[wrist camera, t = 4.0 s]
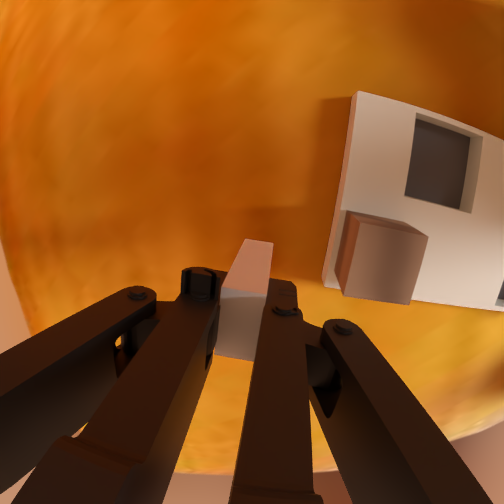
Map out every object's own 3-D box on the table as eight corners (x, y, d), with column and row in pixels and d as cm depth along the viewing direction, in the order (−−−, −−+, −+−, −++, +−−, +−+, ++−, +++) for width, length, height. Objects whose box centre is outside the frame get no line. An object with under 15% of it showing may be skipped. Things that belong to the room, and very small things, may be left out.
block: (333, 270, 25) (343, 295, 20) (346, 210, 24) (360, 222, 19) (389, 279, 25) (408, 305, 20) (404, 221, 23) (428, 236, 19)
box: (321, 275, 28) (326, 296, 24) (351, 96, 23) (363, 84, 19) (522, 305, 26) (542, 322, 22) (554, 173, 21) (579, 178, 17)
